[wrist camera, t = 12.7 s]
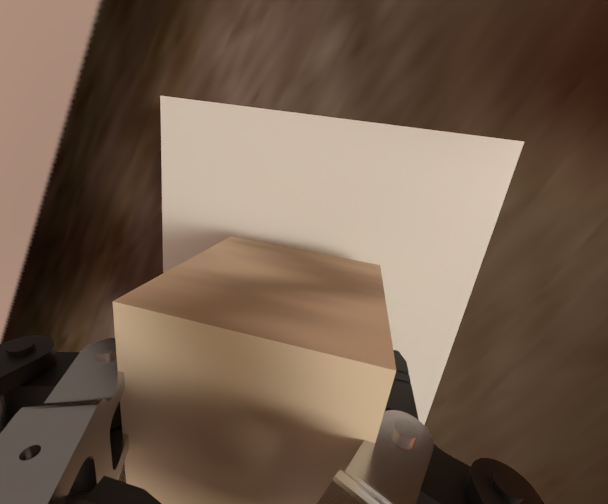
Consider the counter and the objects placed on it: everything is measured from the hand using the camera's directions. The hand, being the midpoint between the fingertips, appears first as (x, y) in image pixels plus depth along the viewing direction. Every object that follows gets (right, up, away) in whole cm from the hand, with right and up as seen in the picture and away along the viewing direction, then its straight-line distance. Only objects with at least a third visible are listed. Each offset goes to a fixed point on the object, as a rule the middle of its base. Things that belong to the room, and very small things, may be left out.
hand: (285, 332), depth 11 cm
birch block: (0, 0, +1) cm, 1 cm away
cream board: (+1, +2, +5) cm, 6 cm away
